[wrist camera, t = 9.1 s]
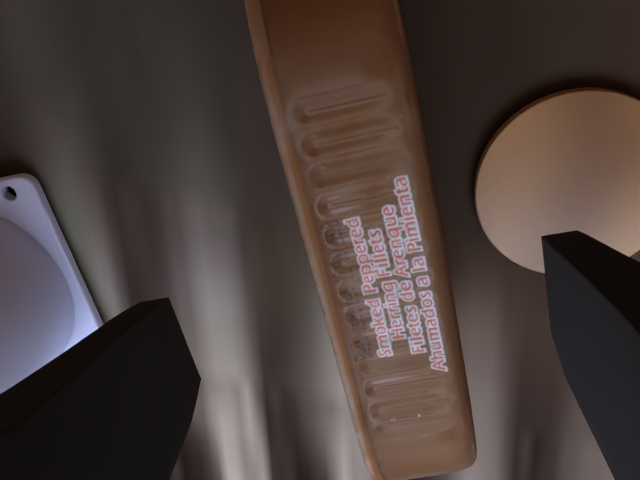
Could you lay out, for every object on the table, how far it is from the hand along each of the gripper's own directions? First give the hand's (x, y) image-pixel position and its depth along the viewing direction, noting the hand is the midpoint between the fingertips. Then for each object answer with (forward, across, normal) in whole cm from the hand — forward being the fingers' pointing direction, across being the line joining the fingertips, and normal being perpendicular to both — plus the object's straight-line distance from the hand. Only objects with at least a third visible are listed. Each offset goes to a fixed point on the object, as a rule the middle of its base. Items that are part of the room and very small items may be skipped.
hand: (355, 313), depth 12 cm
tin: (+9, 0, 0) cm, 9 cm away
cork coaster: (+9, -6, +2) cm, 11 cm away
